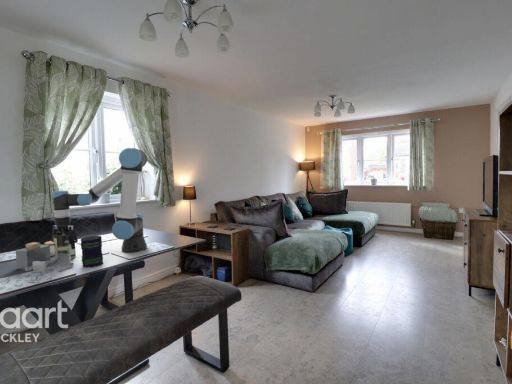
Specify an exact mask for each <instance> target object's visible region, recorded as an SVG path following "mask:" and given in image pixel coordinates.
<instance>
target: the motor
mask: <svg viewBox="0 0 512 384" xmlns="http://www.w3.org/2000/svg"><path fill="white" fill-rule="evenodd" d="M51 256H52V255H50V245H44V244H41V242H36V241H33V242H29V243H26V244H25V247H24V248H21V249H16V250H15V259H16V260H15V261H16V270H21V269H22V271H24V272H29V271H32V272H33V273H38V272H41V273H40V274H47V273H48V265H50V264H53V263H56V262H55V261H56V260H55V258H51ZM57 261H58V264H60V265H61V266H58V267H56V272H57V271H60V272H63V271H65V270H67V269H71V268H73V267H74V262H72V258H71V254H63V253H59V254H58V260H57ZM62 270H63V271H62ZM46 272H47V273H46Z"/></svg>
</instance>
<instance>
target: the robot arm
mask: <svg viewBox="0 0 512 384" xmlns="http://www.w3.org/2000/svg"><path fill="white" fill-rule="evenodd" d="M118 161H119V163H120V166H118V167H117V168H115V169H114V170H113V171H112V172H110V173H109V174H108V175H107V176H105V177H104V178H103V179H101V180H100V181H99V182H97V183H96V184H95V185H94V186H92V187H91V188H89V190H87V191H86V192H85V191H83V192H77V193H76V192H75V193H74V192H73V193H69V191H68V190H67V189H65V190H64V189H63V190H61V189H60V190H54V191H52V204H53V216H54V225H52V232H51V233H52V234H51V239H50V241H52V242H54V238H53V235H60V234H62V233H64V234H65V235H70V236H71V237H68V238H69V242H70V244H69V250H70V254H71V255H73V254H75V251H76V243H78V242H79V241H78V238H77V234H76V231H75V225H70V223H71V222H72V221H71V210H70V207H85V206H91V204H95V203H97V202H98V201H99V199H100V198H102V196H104V195H106V193H108V192H110V190H112V189H113V188H114V187H116V186H117V185H118V184H119V183H121V182H122V183H121V192H120V203H119V212H118V213H117V214H116V215H115V222H114V223H113V225H112V227H111V232H112V233H111V234H113V236H114V238H116V239H119V240H121V241H123V242H122V245H121V252H123V253H124V252H125V253H135V251H136V252H140V250H141V251H144V250H146V249H147V248H148V244H147V243H146V240H145V237H144V219H143V218H144V217H143V214H141V213H136V210H137V209H136V206H137V197H138V185H139V179H140V178H139V176H140V174H141V173H143V167H145V165H146V164H147V162H148V156H147V154H146V153H145V151H143V150H141V149H138V148H136V147H126V148H124V149H122V150H121V151H120V153H119V154H118ZM145 248H146V249H145ZM143 249H144V250H143Z"/></svg>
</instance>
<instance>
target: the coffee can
mask: <svg viewBox="0 0 512 384" xmlns="http://www.w3.org/2000/svg"><path fill="white" fill-rule="evenodd" d="M68 237H71V236H70V235H65V234H64V233H62V234H60V235H53V238H54V250H55V255H54V260H55V261H58V254H59V253H63V254H70V250H69V244H70V242H69V238H68ZM76 252H77V251H76V250H75V254H73V255H71V259H74V258H76V257H77V255H76Z"/></svg>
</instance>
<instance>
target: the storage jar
mask: <svg viewBox="0 0 512 384" xmlns="http://www.w3.org/2000/svg"><path fill="white" fill-rule="evenodd" d="M80 246H81V247H80V249H81V264H82V268H85V269H86V268H87V269H90V268H96V267H100V266H101V265H103V264H104V255H103V249H102V247H103V241H102V236H101V235H89V236H84V237H82V238H80Z"/></svg>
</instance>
